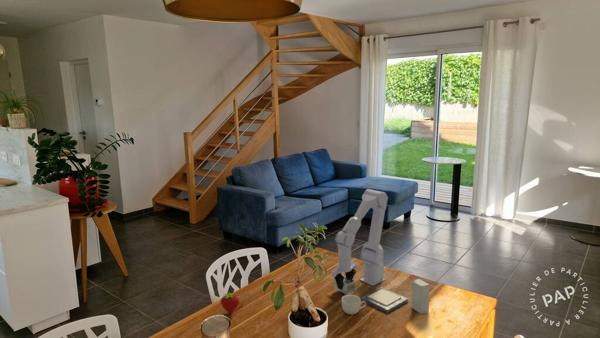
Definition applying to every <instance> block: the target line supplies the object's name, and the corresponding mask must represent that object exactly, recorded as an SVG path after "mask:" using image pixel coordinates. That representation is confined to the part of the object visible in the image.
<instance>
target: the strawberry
mask: <svg viewBox="0 0 600 338" xmlns="http://www.w3.org/2000/svg"><path fill="white" fill-rule="evenodd" d="M223 295H224V296H222V298H221V299H220V304H221V305H220V306H222V308H223V309H224V311H226V312H227V313H228V314H230V313H231V314H233V312H234V311H235V310H236V309H237V307H238V306H239V305H240V304H239V303H240V299H239V297H238V296H236V294H234V292H233V293H231V292H228V293H227V294H226V293H223Z"/></svg>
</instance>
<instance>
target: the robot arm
mask: <svg viewBox="0 0 600 338" xmlns="http://www.w3.org/2000/svg"><path fill="white" fill-rule="evenodd" d="M388 199H389V196H388V195H387V193H386V192H385V191H379V190H375V189H374V190H373V189H372V188H371V189H370V188H367V189H366V190H364V192H363V194H362V195H361V200H362V201H361V202H360V205H358V208H357V210H356V212H355V213H354V216H351V217H350V218H349V219H348V220H347V222H346V224H345V225H344V227H343V228H342V229H341V230H340V231H338V232H337V233H336V235H335V237H334V239H335V242H336V247H337V252H338V253H337V265H336V268H334V269H333V270H332V271H331V272H330V273H331V277H333V279H334V278H335V280H336V283H337V287H338V289H340V290H342V288H343V280H344V278H345V277H347V278H350V279H352V280H353V279H354V277H355V275H356V273H357V270H356V269H357V268H358V263H356V262H352V246H353V244H354V243H355V238H356V234H357V232H359V231H358V230H359V229H360V227H361V226H362V219H363V218H364V217H365V216H366V214H367V213H368V212H369V210H370V209H372V210H373V211H372V218H371V224H370V229H369V236H368V240H367V242H366V243H364V244H363V246H362V250H361V251H360V258H361V259H362V263H363V265H364V266H363V277H362V278H360V279H359V280H360V281H361V282H364V283H366V284H368V285H370V286H376V285H377V284H379V283H381V282H384V281H385V280H386V278H385V277H384V276H385V275H384V273H385V266H384V264H383V261H384V257H385V256H384V249H383V247H382V245H381V244H380V243H381V237H382V231H383V226H384V220H385V212H386V209H387V205H388ZM343 274H344V275H343ZM342 275H343V276H342ZM344 276H345V277H344Z"/></svg>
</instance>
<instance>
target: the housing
mask: <svg viewBox="0 0 600 338" xmlns="http://www.w3.org/2000/svg"><path fill="white" fill-rule="evenodd" d="M341 275H342V276H344V277H345V278H344V280H343V288H342V290H340V289H338V287H337V283H336V280H335V278H334V277H333V289H334V290H336V291H338V292H340V293H342V294H344V295H351V294H352V293H354V292H355V291H356V281H355V280H353V279H350V278H347V277H346V275H343V274H341Z"/></svg>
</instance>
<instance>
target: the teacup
mask: <svg viewBox="0 0 600 338" xmlns="http://www.w3.org/2000/svg"><path fill="white" fill-rule="evenodd" d="M363 303H364V305H363V306H361V305H362V304H363ZM366 307H367V303H366V302H364V301H361V297H359V296H358V295H354V294H348V295H346V294H344V295H343V296H342V297H341V309H342V310H343V312H345V314H348V315H356V314H357V313H358V312H359V311H360V310H361V309H363V308H366Z"/></svg>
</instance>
